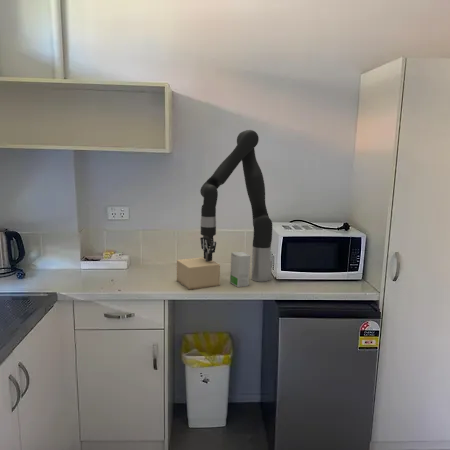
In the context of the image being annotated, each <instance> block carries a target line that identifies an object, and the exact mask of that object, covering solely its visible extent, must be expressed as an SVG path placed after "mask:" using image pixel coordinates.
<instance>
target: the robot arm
mask: <svg viewBox="0 0 450 450" xmlns="http://www.w3.org/2000/svg"><path fill="white" fill-rule="evenodd" d="M259 138H260V137H259V135H258V133H257V132H256V131H255V130H253V129H246V130H243V131H241V132H239V134H238V135H237V138H236V146H235V147H234V149H233V150H232V151H231V152H230V154H229V155H228V156H227V157H226V158H225V159H224V160H222V162H221V163H220V164H219V166H218V167H217V168H216V169H215V170H214V172H213V174H211V175H210V177H209V178H207V180H206V181H205V182H203V184H202V186H201V188H200V190H199V191H200V192H199V193H200V195H201V196H202V198H203V204H202V205H201V209H200V210H201V211H200V212H201V213H200V214H201V216H200V235H201V237H200V238H199V239H200V246H201V250H202V251H203V257H204V259H206V255H205V252H208V261H213V254H214V253H216V248H217V241H214V236H217V235H216V234H217V209H216V207H217V203H218V196H219V195H218V193H219V192H218V189H219V188H220V187H221V186H223V185H224V184H225V183H226V181H228V179H229V178H230V176H231V175H232V174H233V172H234V171H235V169H237V167H239V164H240V163H242V170H243V176H244V183H245V189H246V193H247V196H248V199H249V202H250V207H251V215H252V217H251V218H252V226H253V237H252V238H253V239H252V252H251V253H252V255H251V256H252V257H251V280H252V281H255V282H261V283H262V282H269V281H271V280H272V265H273V263H272V260H271V250H272V249H271V248H272V247H271V246H272V242H273V241H272V240H273V221H272V220H271V218H270V216H269V212H268V208H267V206H266V185H265V180H264V175H263V172H262V169H261V167H260V165H259V163H258V161H257V157H256V151H255V148H256V146H258V143H259V141H260V139H259Z"/></svg>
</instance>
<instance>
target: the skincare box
mask: <svg viewBox="0 0 450 450" xmlns="http://www.w3.org/2000/svg"><path fill="white" fill-rule="evenodd" d="M230 254H231V255H230V256H231V257H230V272H229V273H230V276H229V283H230V284H232V285H233V286H235V287H237V288H241V287H248V286H249V285H250V284H249V281H250V268H251V267H250V266H251V255H250V254H249V253H246V252H244V251H241V250H240V251H232V252H231V253H230Z"/></svg>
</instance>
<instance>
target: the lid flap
mask: <svg viewBox="0 0 450 450" xmlns="http://www.w3.org/2000/svg"><path fill="white" fill-rule="evenodd" d="M205 255H206V259H204V256H201V257H193V258H192V257H191V258H184V259H183V258H182V259H176V263H177V262H179V263H181V264H182V265H184V266H185V267H187V268H188V269H194V268H203V267H211V266H220V267H221V265H220V263H218V262H216V261H214V260H212V261H208V252H205Z"/></svg>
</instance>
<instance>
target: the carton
mask: <svg viewBox="0 0 450 450" xmlns="http://www.w3.org/2000/svg"><path fill="white" fill-rule="evenodd" d="M220 276H221V265H220V266H211V267H203V268H194V269H188V268H187V267H185V266H184V265H182V264H181V263H179V262H177V261H176V281H177V282H178V283H179V284H181V285H182V286H183V287H185V289H187V290H188V291H191V290H198V289H205V288H213V287H219V286H220V285H221V277H220Z"/></svg>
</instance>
